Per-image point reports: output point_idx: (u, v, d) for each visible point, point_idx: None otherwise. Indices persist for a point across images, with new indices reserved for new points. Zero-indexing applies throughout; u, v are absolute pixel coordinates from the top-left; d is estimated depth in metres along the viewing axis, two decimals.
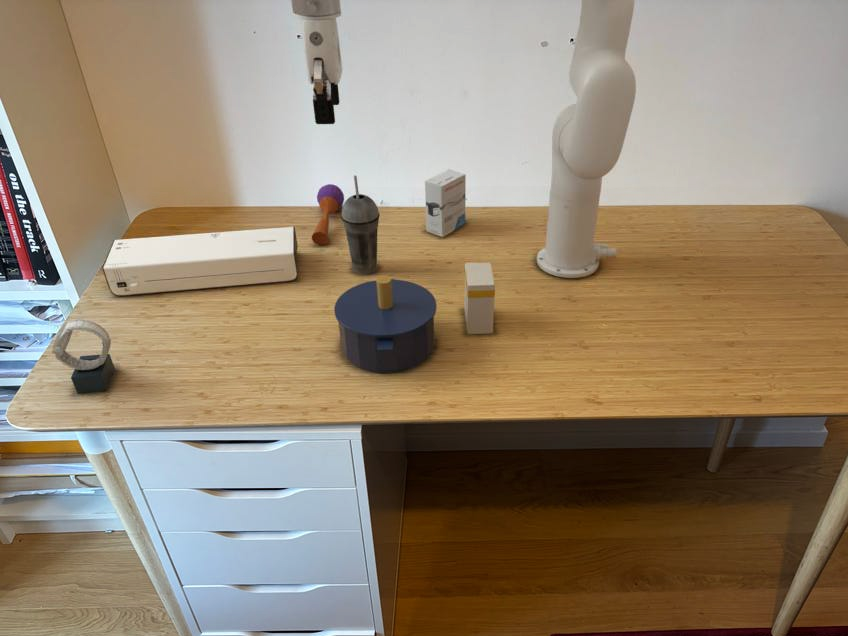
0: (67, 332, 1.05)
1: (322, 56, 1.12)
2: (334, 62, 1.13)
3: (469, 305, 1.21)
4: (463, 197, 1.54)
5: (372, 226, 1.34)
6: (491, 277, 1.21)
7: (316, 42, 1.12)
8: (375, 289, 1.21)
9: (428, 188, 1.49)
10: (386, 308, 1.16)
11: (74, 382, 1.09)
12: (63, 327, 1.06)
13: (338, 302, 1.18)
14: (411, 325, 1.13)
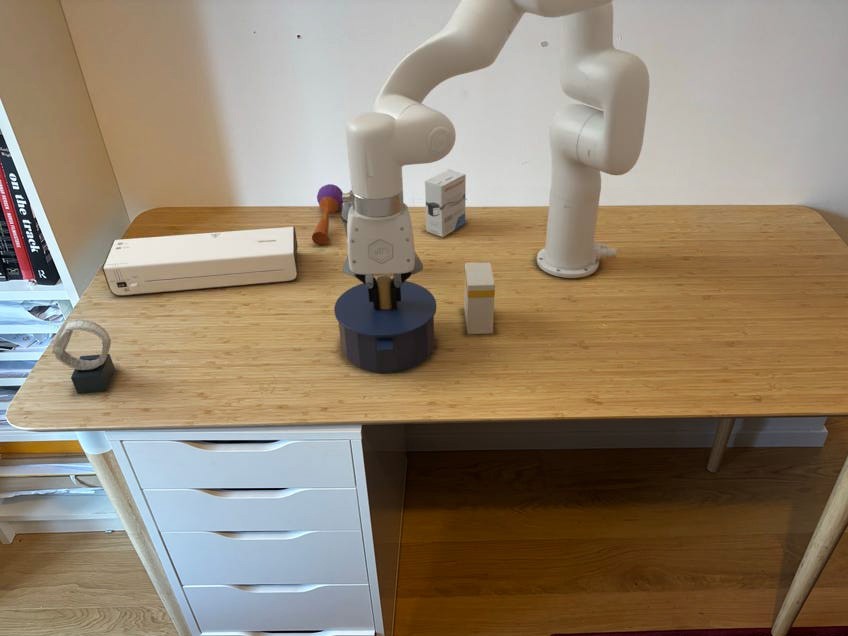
0: (67, 332, 1.05)
1: None
2: (349, 253, 1.08)
3: (469, 305, 1.21)
4: (463, 197, 1.54)
5: None
6: (491, 277, 1.21)
7: None
8: None
9: (428, 188, 1.49)
10: (386, 308, 1.16)
11: (74, 382, 1.09)
12: (63, 327, 1.06)
13: (338, 302, 1.18)
14: (411, 325, 1.13)
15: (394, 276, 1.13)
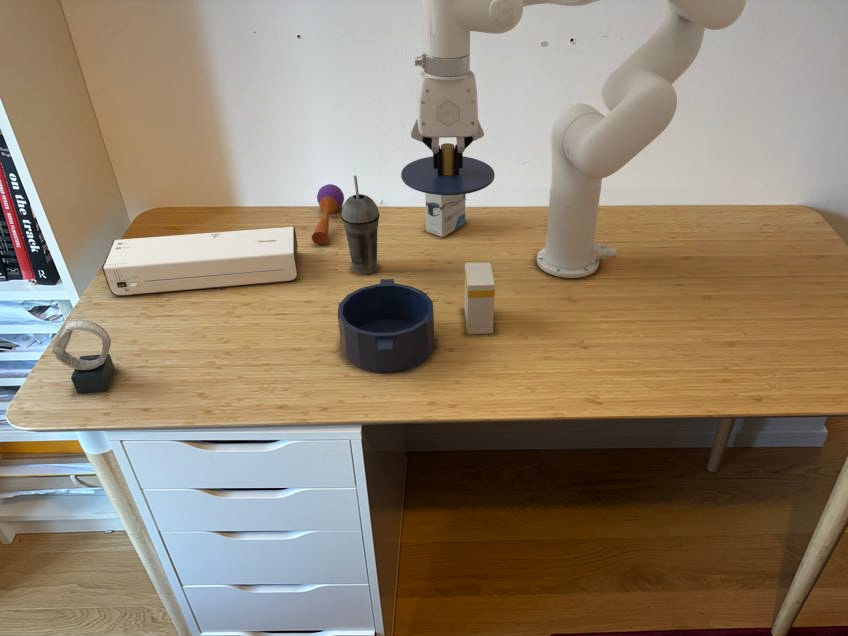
0: (67, 332, 1.05)
1: (418, 112, 1.20)
2: (419, 115, 1.18)
3: (469, 305, 1.21)
4: (463, 197, 1.54)
5: (372, 226, 1.34)
6: (491, 277, 1.21)
7: None
8: None
9: None
10: (449, 174, 1.26)
11: (74, 382, 1.09)
12: (63, 327, 1.06)
13: (404, 170, 1.28)
14: (474, 186, 1.23)
15: (458, 141, 1.23)
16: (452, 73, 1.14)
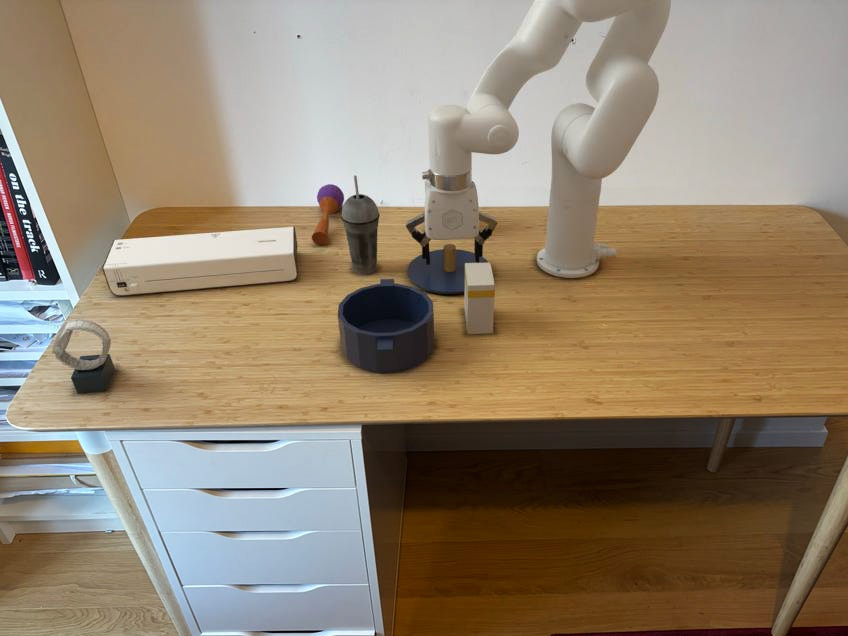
0: (67, 332, 1.05)
1: None
2: (426, 221, 1.31)
3: (469, 305, 1.21)
4: None
5: (372, 226, 1.34)
6: (491, 277, 1.21)
7: None
8: (439, 256, 1.45)
9: None
10: (450, 271, 1.40)
11: (74, 382, 1.09)
12: (63, 327, 1.06)
13: (410, 266, 1.41)
14: None
15: (474, 237, 1.35)
16: (456, 188, 1.26)
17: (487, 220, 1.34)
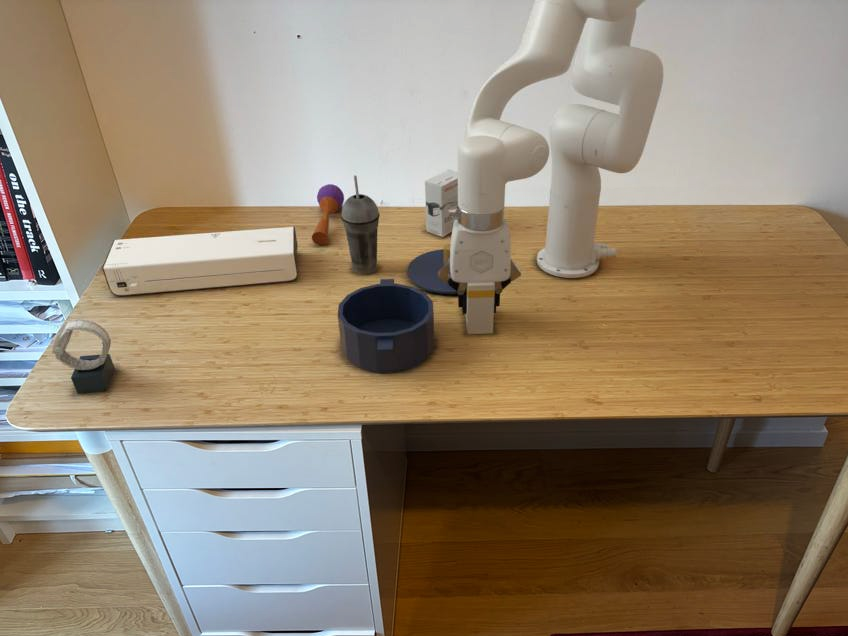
0: (67, 332, 1.05)
1: (450, 257, 1.19)
2: (452, 263, 1.18)
3: (469, 305, 1.21)
4: None
5: (372, 226, 1.34)
6: None
7: None
8: (439, 256, 1.45)
9: (428, 188, 1.49)
10: None
11: (74, 382, 1.09)
12: (63, 327, 1.06)
13: (410, 266, 1.41)
14: None
15: None
16: (487, 227, 1.13)
17: (512, 268, 1.21)
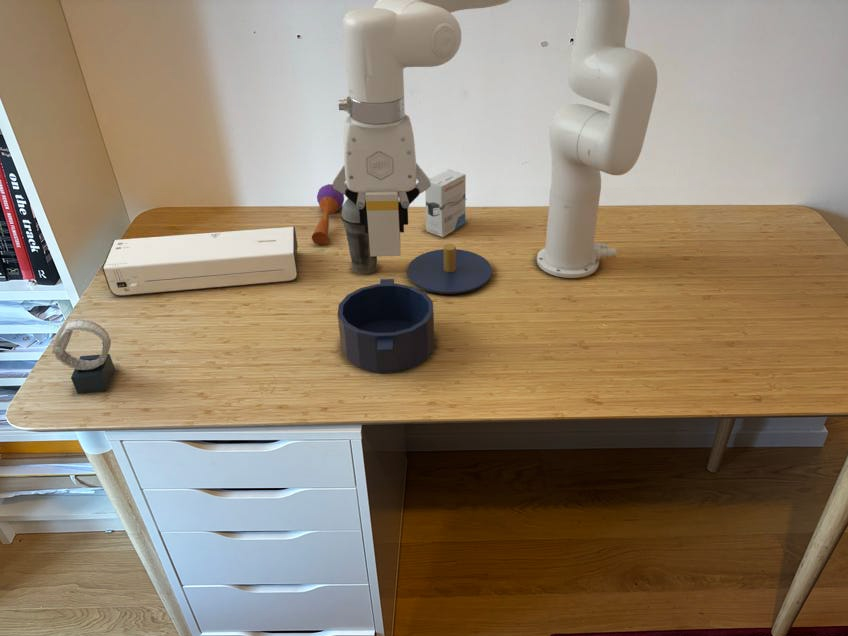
0: (67, 332, 1.05)
1: None
2: (346, 167, 1.00)
3: (370, 220, 1.04)
4: (463, 197, 1.54)
5: None
6: None
7: None
8: (439, 256, 1.45)
9: (428, 188, 1.49)
10: (450, 271, 1.40)
11: (74, 382, 1.09)
12: (63, 327, 1.06)
13: (410, 266, 1.41)
14: (473, 284, 1.36)
15: (399, 196, 1.05)
16: (382, 120, 0.96)
17: (420, 177, 1.04)
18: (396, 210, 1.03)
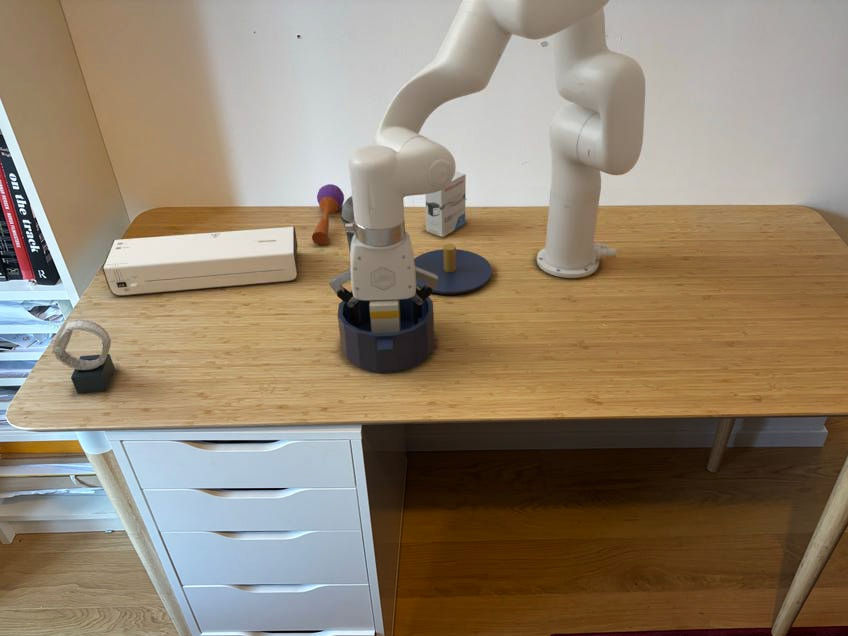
0: (67, 332, 1.05)
1: None
2: (352, 280, 1.11)
3: (373, 326, 1.15)
4: (463, 197, 1.54)
5: None
6: None
7: None
8: (439, 256, 1.45)
9: None
10: (450, 271, 1.40)
11: (74, 382, 1.09)
12: (63, 327, 1.06)
13: None
14: (473, 284, 1.36)
15: (411, 297, 1.15)
16: (384, 243, 1.06)
17: (426, 278, 1.14)
18: (397, 318, 1.14)
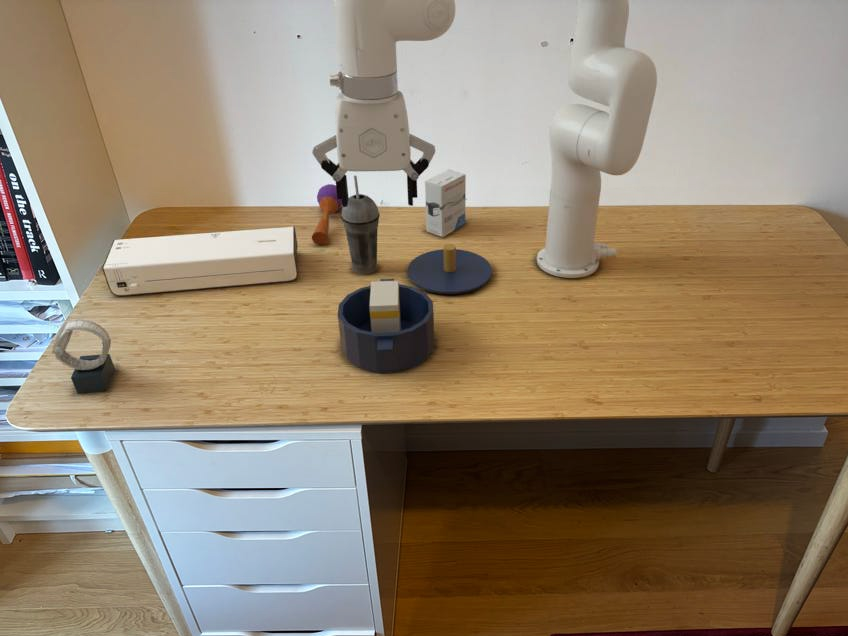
0: (67, 332, 1.05)
1: None
2: (338, 145, 0.98)
3: (373, 326, 1.15)
4: (463, 197, 1.54)
5: (372, 226, 1.34)
6: (396, 297, 1.15)
7: None
8: (439, 256, 1.45)
9: (428, 188, 1.49)
10: (450, 271, 1.40)
11: (74, 382, 1.09)
12: (63, 327, 1.06)
13: (410, 266, 1.41)
14: (473, 284, 1.36)
15: (405, 170, 1.02)
16: (374, 96, 0.93)
17: (421, 146, 1.01)
18: (397, 318, 1.14)
